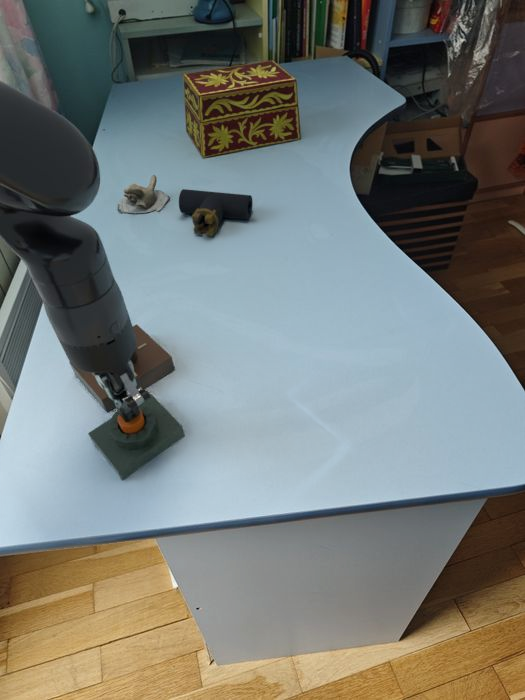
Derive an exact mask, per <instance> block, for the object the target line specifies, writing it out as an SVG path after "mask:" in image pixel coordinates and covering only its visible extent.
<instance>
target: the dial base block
mask: <svg viewBox="0 0 525 700" xmlns="http://www.w3.org/2000/svg"><path fill="white" fill-rule="evenodd" d="M132 326H133V329H134V332H135V335H136V348H135V351H136V354H137V359H136V361H135V363H134V364H133V366H134V371H133V373H134V377H135V380H136V383H137V386H136V388H137V389H138V388H140V387H141V388H142V389H143V390H144V389H145V390H146V389H147V388H149V387H150V386H152V385H153V384H155V383H156V382H158V381H159V380H162V379H163V378H164V377H166V376H168V375H169V374H170V373H172V372H174V371H175V370H176V369H175V365H174V360H173V357H172V355H170V354H169V353H168V352H167V351H166V350H165V349H164V348H163V346H161V345H160V344H159V343H157V341H156V340H154V339H153V338H152V337H151V336H150V335H149V334H148V333H147V332H146V331H145V330H144V329H143V328H141V326H140V325H138V324H135V325H132ZM69 365H70V368H71V369H72V371H73V373H74V375H75V376H76V378H77V379H78V380H79V382H81V384H82V385H83V386H84V388H86V390H88V392H89V393H90V394H91V395H92V397H93V398H94V399H95V401H97V403H98V404H99V405H100V406H101V408H102V409H103V410H104V411H105V412H106V413H109V412H111V411H113V410H114V409H116V406H115V404H114V401H113V400H112V399H110V398H109V397H108V394H107V393H106V390H103V388H102V387H101V386H100V385H99V384H98V382H97V380H96V378H95V376H94V374H93V373H88V372H84V371H81V370H79V369H77V368H75V367H74V366H73V365H72V364H71V363H70V361H69Z"/></svg>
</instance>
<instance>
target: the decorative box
mask: <svg viewBox="0 0 525 700" xmlns="http://www.w3.org/2000/svg"><path fill="white" fill-rule="evenodd" d="M182 82H183V83H182V84H183V98H184V100H183V101H184V119H185V131H186V133H187V135H188V137H189V138H190V140H191V142H192V143H193V145H194V147H195V148H196V149H197V151H198V153H199V155H200V157H201V158H203V159H205V158H211V157H217V156H223V155H227V154H232V153H237V152H242V151H248V150H252V149H258V148H263V147H269V146H273V145H279V144H283V143H284V144H285V143H289V142H293V141H294V142H295V141H299V140H301V138H302V136H301V134H302V133H301V123H300V122H301V120H300V108H299V94H298V82H297V78H296V77H294V76H293V75H292V74H291V73H290V72H288V71H287V70H286V69H285V68H283V67H282V66H281V65H279V63H277V62H276V61H275V60H265V61H258V62H249V63H244V64H237V65H231V66H225V67H219V68H212V69H206V70H199V71H193V72H192V71H191V72H186V73H183V74H182Z"/></svg>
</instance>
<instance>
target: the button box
mask: <svg viewBox="0 0 525 700" xmlns="http://www.w3.org/2000/svg"><path fill="white" fill-rule="evenodd" d="M149 394H150V398H149V399H148V400H147V401H145V402H144V403H142V404H141V405H139V406H138V408H139V409H140V410H141V411H142V414H143V417H144V420H145V424H144V426H143V428H142V429H141V430H140V431H138V432H136V433H133V434H128V433H125V432H123V431H122V429H121V427H120V425H119V423H118V415H119V413H118V411H115V412H114V413H113V415H112V417H111V418H109V419H108V420H106V421H105V422H103V423H102V424H100V425H98V426H97V427H95V428H94V429H92V430H91V431H89V432H88V434H87V435H88V436H89V438H90V440H91V441H92V444H93V445H94V446H95V447H96V449H97V450H98V451H99V452H100V454H101V455H102V457H104V459H105V461H106V462H107V463H108V464H109V466H110V467H111V468H112V469H113V471H114V472H115V473H116V475H117V476H118V477H119V478H120V480H121V481H124V480H125V479H127V478H128V477H130V476H131V475H132V474H134V473H135V472H137V471H138V470H139V469H141V468H142V467H143V466H145V465H146V464H147V463H149V462H151V461H152V460H153V459H155V458H156V457H157V456H159V455H160V454H161V453H164V451H166V450H167V449H169V448H170V447H171V446H173V445H174V444H175V443H177V442H178V441H180V440H181V439H183V438H184V437H185V436H186V434H185V431H184V428H183V426H182V425H181V423H179V421H178V420H177V419H176V418H175V417H174V416H173V415H172V414H171V412H169V411H168V410H167V408H165V407H164V405H163V404H162V403H160V402H159V400H158V399H157V398H156V397H155V396H154V395H153V394H152V393H150V392H149Z"/></svg>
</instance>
